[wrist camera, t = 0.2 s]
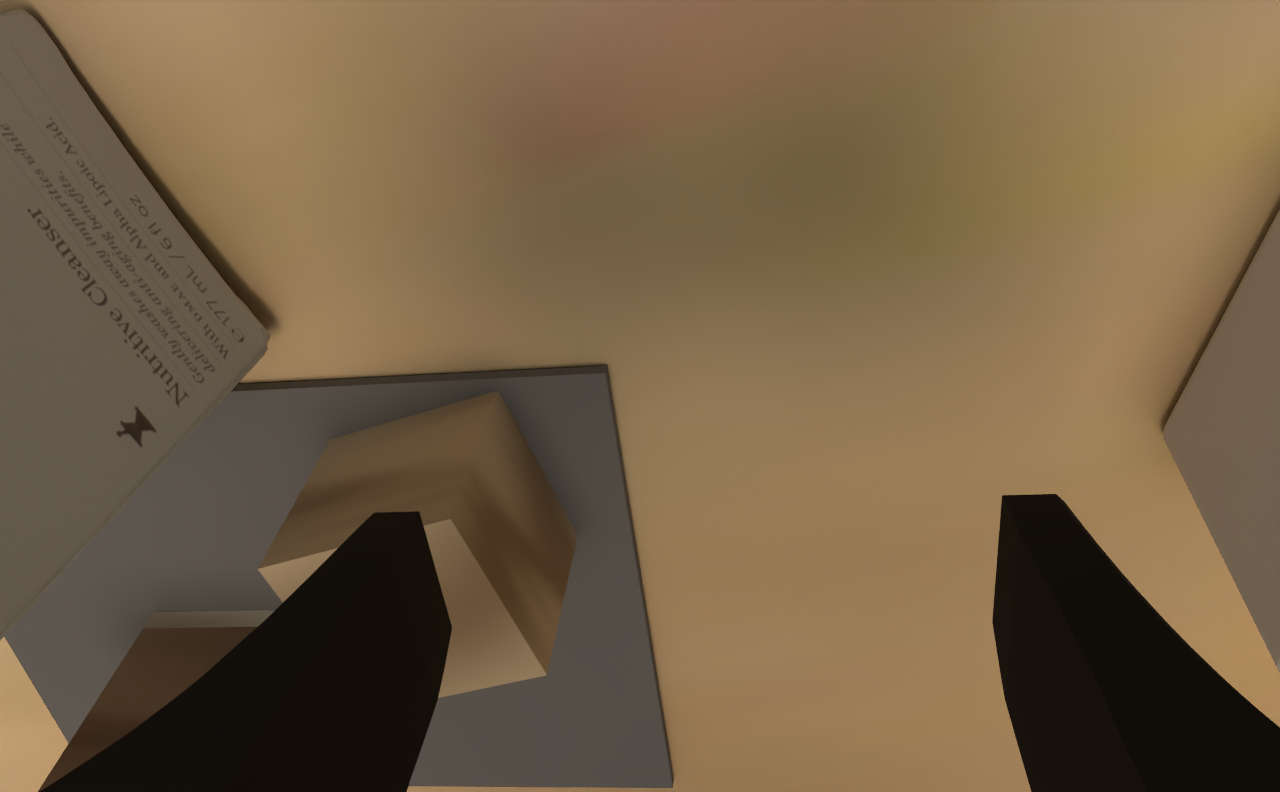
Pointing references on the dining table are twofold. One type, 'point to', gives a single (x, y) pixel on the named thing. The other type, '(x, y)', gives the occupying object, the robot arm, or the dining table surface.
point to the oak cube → (449, 530)
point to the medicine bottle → (1240, 438)
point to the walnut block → (155, 675)
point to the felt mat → (230, 581)
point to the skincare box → (91, 322)
